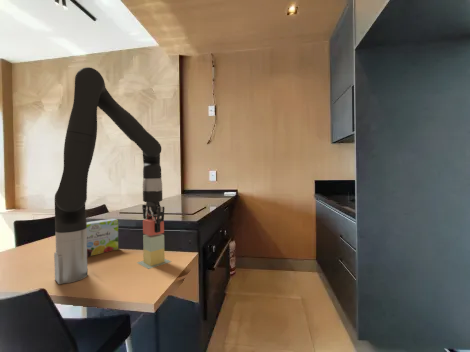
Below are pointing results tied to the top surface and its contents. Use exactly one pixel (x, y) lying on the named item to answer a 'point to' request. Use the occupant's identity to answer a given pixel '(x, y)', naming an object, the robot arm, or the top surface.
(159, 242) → the brick sage
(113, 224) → the snack box
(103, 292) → the top surface
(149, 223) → the brick red
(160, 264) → the baseplate
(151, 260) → the brick mustard
